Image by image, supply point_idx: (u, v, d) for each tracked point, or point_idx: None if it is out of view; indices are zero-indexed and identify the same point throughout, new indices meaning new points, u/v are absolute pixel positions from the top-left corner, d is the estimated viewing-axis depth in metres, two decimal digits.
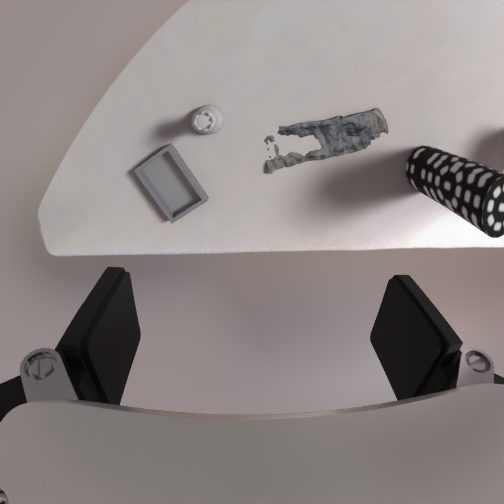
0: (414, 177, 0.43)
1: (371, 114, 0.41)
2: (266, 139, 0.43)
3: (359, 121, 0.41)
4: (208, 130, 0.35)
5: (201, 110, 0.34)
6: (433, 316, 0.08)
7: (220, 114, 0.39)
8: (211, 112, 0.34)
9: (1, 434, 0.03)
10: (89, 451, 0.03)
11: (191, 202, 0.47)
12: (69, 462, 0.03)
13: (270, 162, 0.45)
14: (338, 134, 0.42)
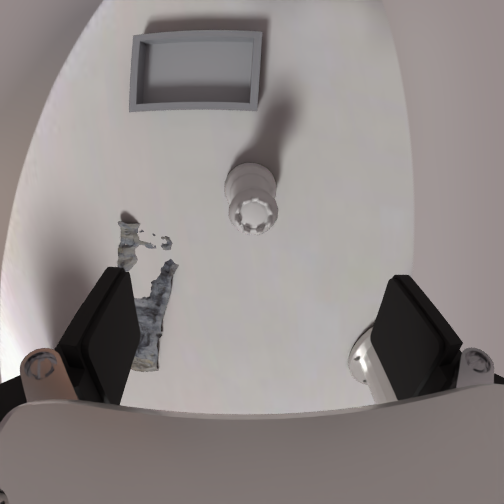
0: None
1: (152, 363, 0.35)
2: (168, 240, 0.28)
3: (148, 350, 0.34)
4: (233, 210, 0.20)
5: (273, 221, 0.20)
6: (433, 316, 0.08)
7: None
8: None
9: (1, 434, 0.03)
10: (89, 451, 0.03)
11: (145, 81, 0.21)
12: (69, 462, 0.03)
13: (134, 228, 0.27)
14: (139, 323, 0.32)
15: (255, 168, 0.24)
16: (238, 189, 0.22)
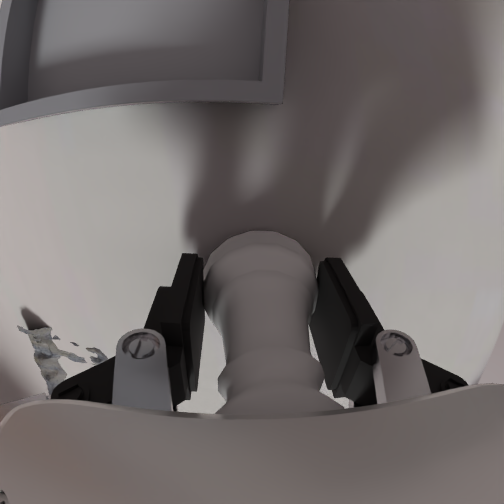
0: None
1: None
2: (99, 354, 0.14)
3: None
4: None
5: None
6: (352, 296, 0.09)
7: None
8: None
9: (1, 434, 0.03)
10: (89, 451, 0.03)
11: (32, 57, 0.07)
12: (69, 462, 0.03)
13: (43, 334, 0.13)
14: None
15: (273, 254, 0.10)
16: (233, 331, 0.08)
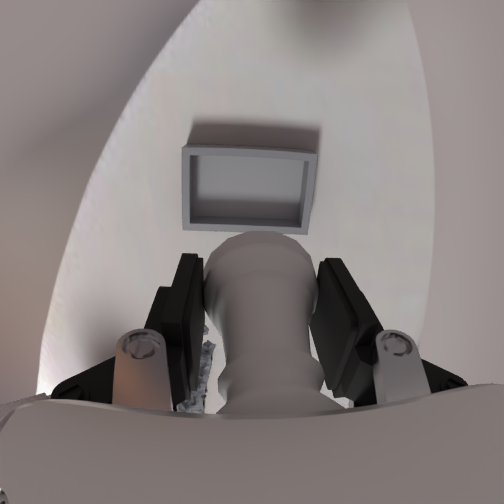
0: None
1: None
2: (204, 327, 0.31)
3: (195, 407, 0.37)
4: None
5: None
6: (352, 296, 0.09)
7: None
8: None
9: (1, 434, 0.03)
10: (89, 451, 0.03)
11: (194, 192, 0.25)
12: (69, 462, 0.03)
13: None
14: None
15: (273, 254, 0.10)
16: (233, 331, 0.08)
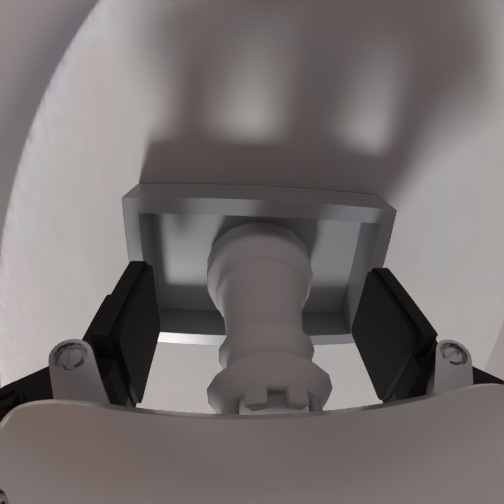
0: None
1: None
2: None
3: None
4: (217, 404, 0.07)
5: None
6: (408, 307, 0.08)
7: None
8: None
9: (1, 434, 0.03)
10: (89, 451, 0.03)
11: (160, 271, 0.13)
12: (69, 462, 0.03)
13: None
14: None
15: (270, 243, 0.11)
16: (233, 309, 0.09)
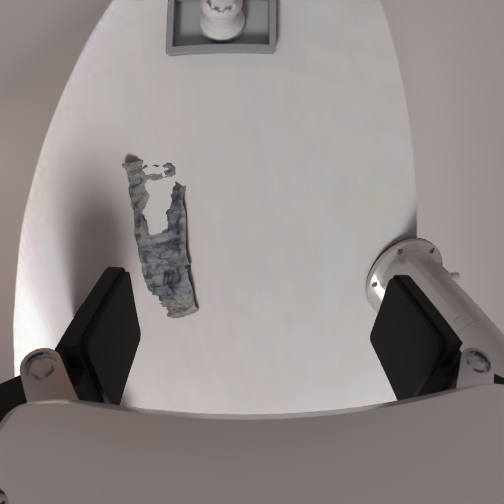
0: None
1: (190, 302, 0.38)
2: (170, 166, 0.30)
3: (182, 287, 0.36)
4: (203, 0, 0.17)
5: (238, 7, 0.17)
6: (433, 316, 0.08)
7: (218, 36, 0.23)
8: (226, 16, 0.18)
9: (1, 434, 0.03)
10: (89, 451, 0.03)
11: (177, 31, 0.23)
12: (69, 462, 0.03)
13: (137, 166, 0.30)
14: (166, 260, 0.35)
15: None
16: None
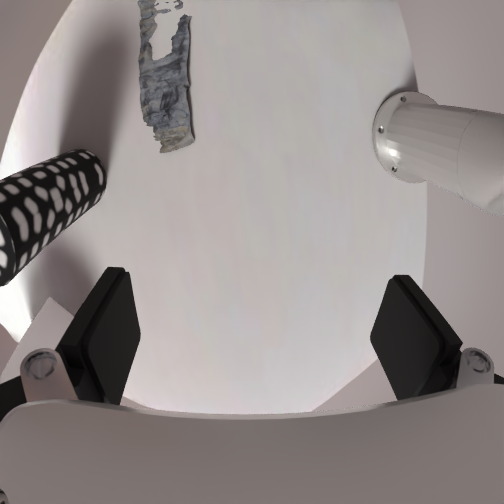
0: (73, 154, 0.31)
1: (186, 129, 0.33)
2: (179, 1, 0.26)
3: (179, 110, 0.32)
4: None
5: None
6: (433, 316, 0.08)
7: None
8: None
9: (1, 434, 0.03)
10: (89, 451, 0.03)
11: None
12: (69, 462, 0.03)
13: (151, 4, 0.26)
14: (165, 81, 0.30)
15: None
16: None
